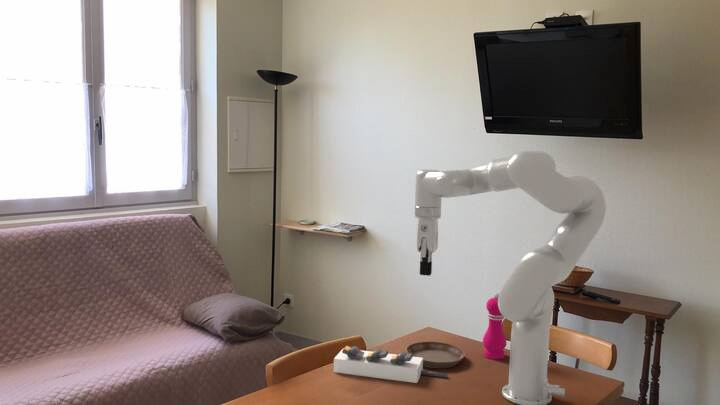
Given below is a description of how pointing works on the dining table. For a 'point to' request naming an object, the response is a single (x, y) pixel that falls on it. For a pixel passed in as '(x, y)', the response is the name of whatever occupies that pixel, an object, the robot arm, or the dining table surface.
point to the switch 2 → (401, 358)
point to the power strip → (383, 368)
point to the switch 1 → (353, 352)
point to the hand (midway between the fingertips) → (425, 274)
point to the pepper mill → (494, 331)
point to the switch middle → (377, 355)
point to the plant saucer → (436, 354)
